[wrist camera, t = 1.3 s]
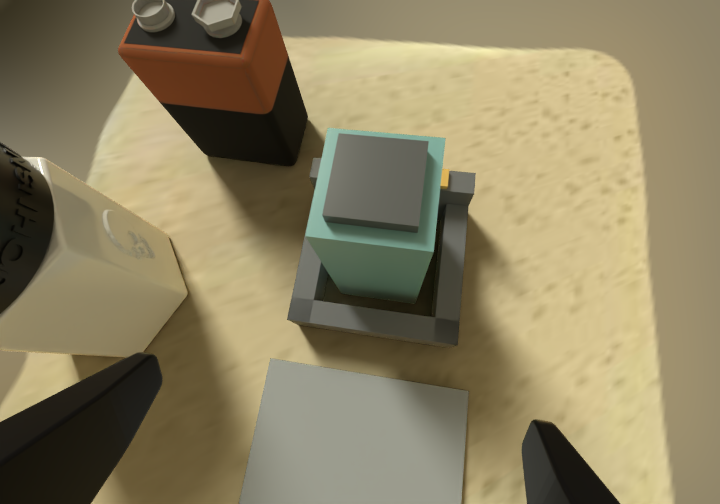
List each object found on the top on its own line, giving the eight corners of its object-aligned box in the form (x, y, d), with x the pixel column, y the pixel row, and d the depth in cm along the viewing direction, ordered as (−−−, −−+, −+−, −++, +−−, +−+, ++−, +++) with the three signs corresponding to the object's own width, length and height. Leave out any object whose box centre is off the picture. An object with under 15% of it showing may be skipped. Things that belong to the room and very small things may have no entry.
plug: (415, 303, 22) (435, 245, 12) (341, 293, 22) (300, 229, 12) (422, 233, 23) (447, 127, 13) (353, 225, 24) (325, 117, 14)
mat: (453, 591, 18) (455, 596, 17) (233, 541, 19) (229, 544, 19) (467, 390, 20) (468, 391, 20) (272, 358, 22) (270, 358, 21)
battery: (296, 170, 25) (239, 48, 16) (202, 157, 26) (95, 35, 17) (310, 116, 26) (265, -27, 17) (221, 105, 27) (131, -36, 18)
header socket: (449, 348, 21) (464, 342, 17) (298, 324, 22) (277, 314, 18) (461, 205, 23) (476, 170, 19) (325, 190, 25) (312, 154, 20)
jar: (204, 325, 22) (12, 277, 11) (76, 389, 22) (-265, 409, 10) (162, 205, 25) (-27, 68, 14) (47, 259, 25) (-249, 163, 13)
